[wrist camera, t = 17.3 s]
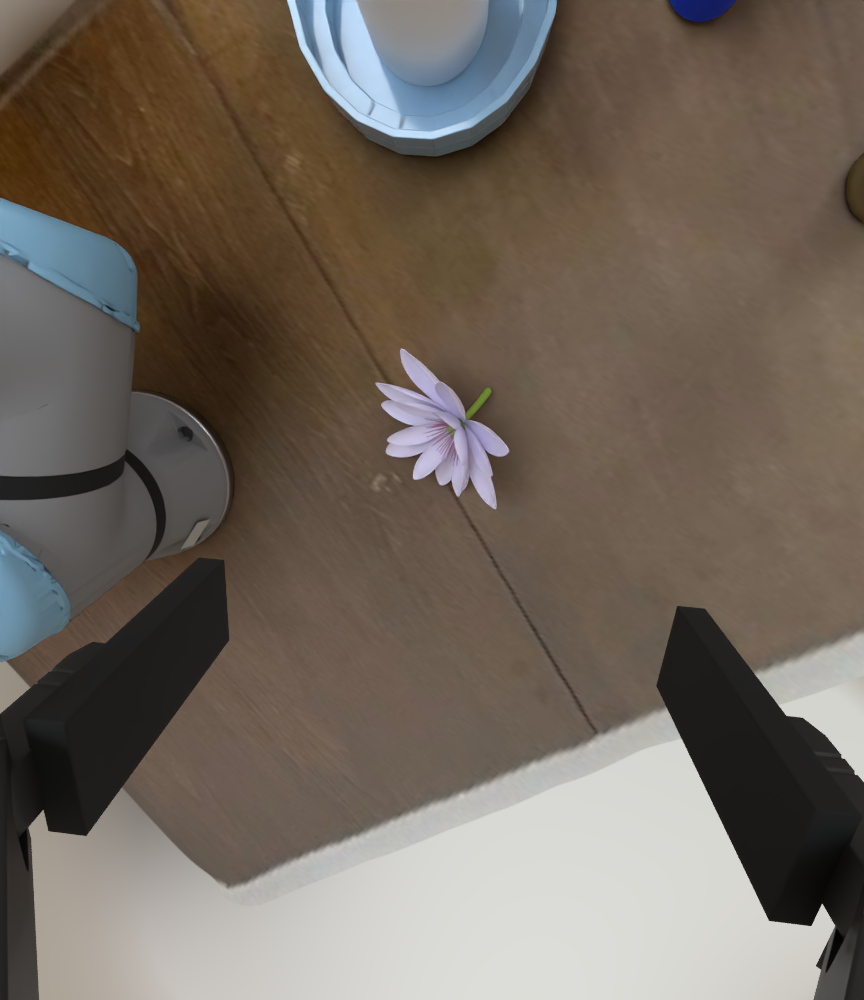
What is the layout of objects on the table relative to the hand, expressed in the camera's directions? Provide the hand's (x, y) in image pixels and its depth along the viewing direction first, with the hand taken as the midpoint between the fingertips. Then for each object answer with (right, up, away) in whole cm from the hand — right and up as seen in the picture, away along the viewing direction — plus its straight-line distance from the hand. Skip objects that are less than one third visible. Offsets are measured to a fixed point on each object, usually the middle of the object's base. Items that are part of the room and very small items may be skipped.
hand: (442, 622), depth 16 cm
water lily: (0, +10, +31) cm, 33 cm away
